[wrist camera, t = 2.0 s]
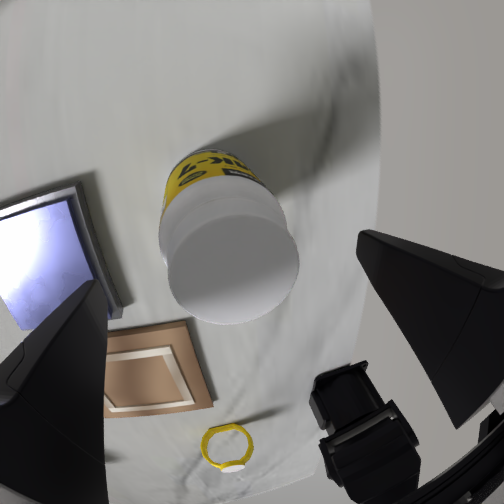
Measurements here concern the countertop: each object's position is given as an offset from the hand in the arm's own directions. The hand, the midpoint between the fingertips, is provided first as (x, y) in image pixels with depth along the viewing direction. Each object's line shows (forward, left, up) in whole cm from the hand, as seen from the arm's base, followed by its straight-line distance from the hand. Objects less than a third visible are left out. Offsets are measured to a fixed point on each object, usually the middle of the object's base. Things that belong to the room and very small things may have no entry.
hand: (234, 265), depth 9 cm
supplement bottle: (0, 0, -8) cm, 8 cm away
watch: (+3, +28, -8) cm, 29 cm away
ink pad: (+12, +2, -8) cm, 14 cm away
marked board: (+9, +15, -8) cm, 19 cm away
